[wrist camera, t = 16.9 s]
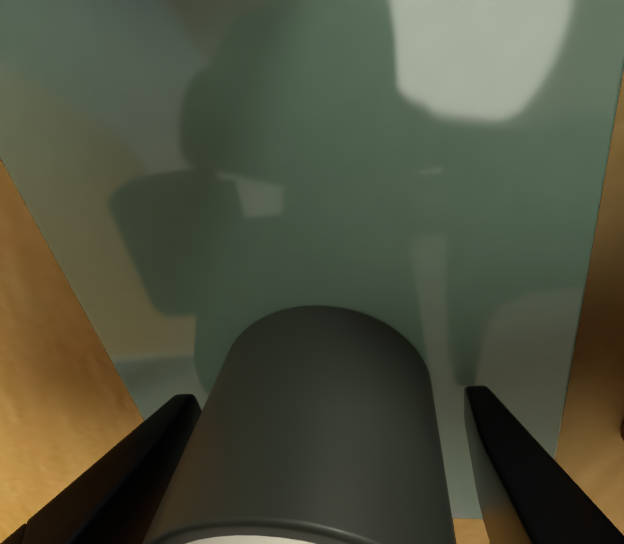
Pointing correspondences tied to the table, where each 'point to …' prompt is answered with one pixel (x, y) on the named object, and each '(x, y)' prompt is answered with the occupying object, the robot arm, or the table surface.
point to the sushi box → (622, 432)
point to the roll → (313, 441)
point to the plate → (321, 180)
